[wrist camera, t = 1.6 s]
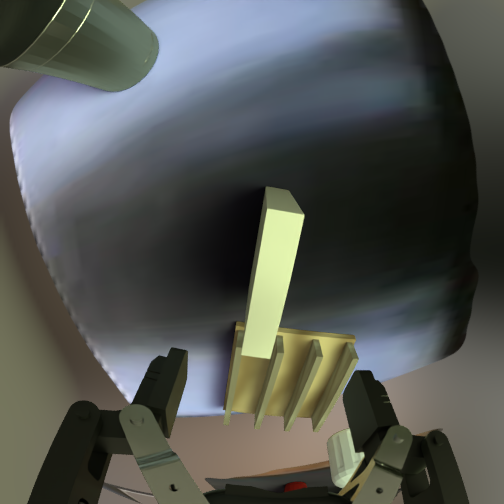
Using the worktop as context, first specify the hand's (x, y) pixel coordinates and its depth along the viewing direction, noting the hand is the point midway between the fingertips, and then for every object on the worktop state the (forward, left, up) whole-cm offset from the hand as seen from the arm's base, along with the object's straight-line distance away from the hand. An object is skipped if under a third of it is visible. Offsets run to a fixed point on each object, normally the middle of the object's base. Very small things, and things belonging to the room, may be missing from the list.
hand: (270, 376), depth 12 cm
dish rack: (+6, -20, -20) cm, 29 cm away
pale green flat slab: (0, 0, -20) cm, 20 cm away
